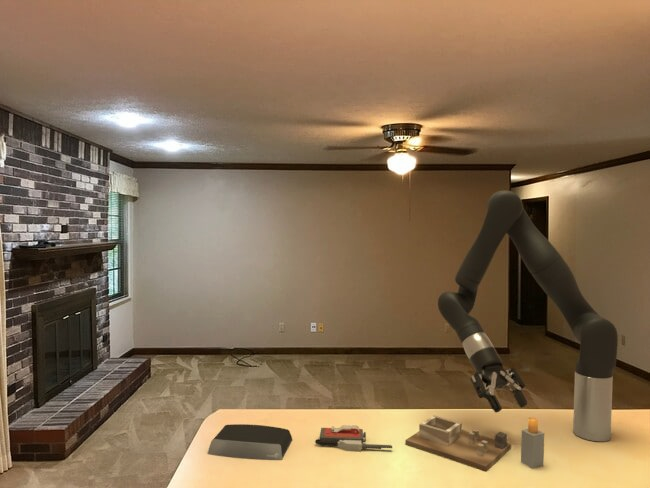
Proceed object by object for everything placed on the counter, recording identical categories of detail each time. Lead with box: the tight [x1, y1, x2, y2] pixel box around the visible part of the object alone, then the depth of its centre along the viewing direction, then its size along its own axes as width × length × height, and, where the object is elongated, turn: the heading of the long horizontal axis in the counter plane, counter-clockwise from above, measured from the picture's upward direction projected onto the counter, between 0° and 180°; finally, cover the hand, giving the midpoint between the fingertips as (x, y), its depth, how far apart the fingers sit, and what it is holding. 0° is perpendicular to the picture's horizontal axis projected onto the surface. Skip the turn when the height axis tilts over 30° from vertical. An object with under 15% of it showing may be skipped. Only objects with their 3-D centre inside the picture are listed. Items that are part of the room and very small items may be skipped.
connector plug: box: [520, 417, 545, 469], centre depth 124 cm, size 4×4×11 cm
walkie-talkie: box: [314, 424, 393, 452], centre depth 134 cm, size 9×4×20 cm
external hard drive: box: [207, 423, 293, 461], centre depth 132 cm, size 13×19×4 cm
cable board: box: [404, 414, 512, 472], centre depth 133 cm, size 16×22×5 cm
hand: (511, 408), depth 130 cm, fingers open, 8 cm apart
